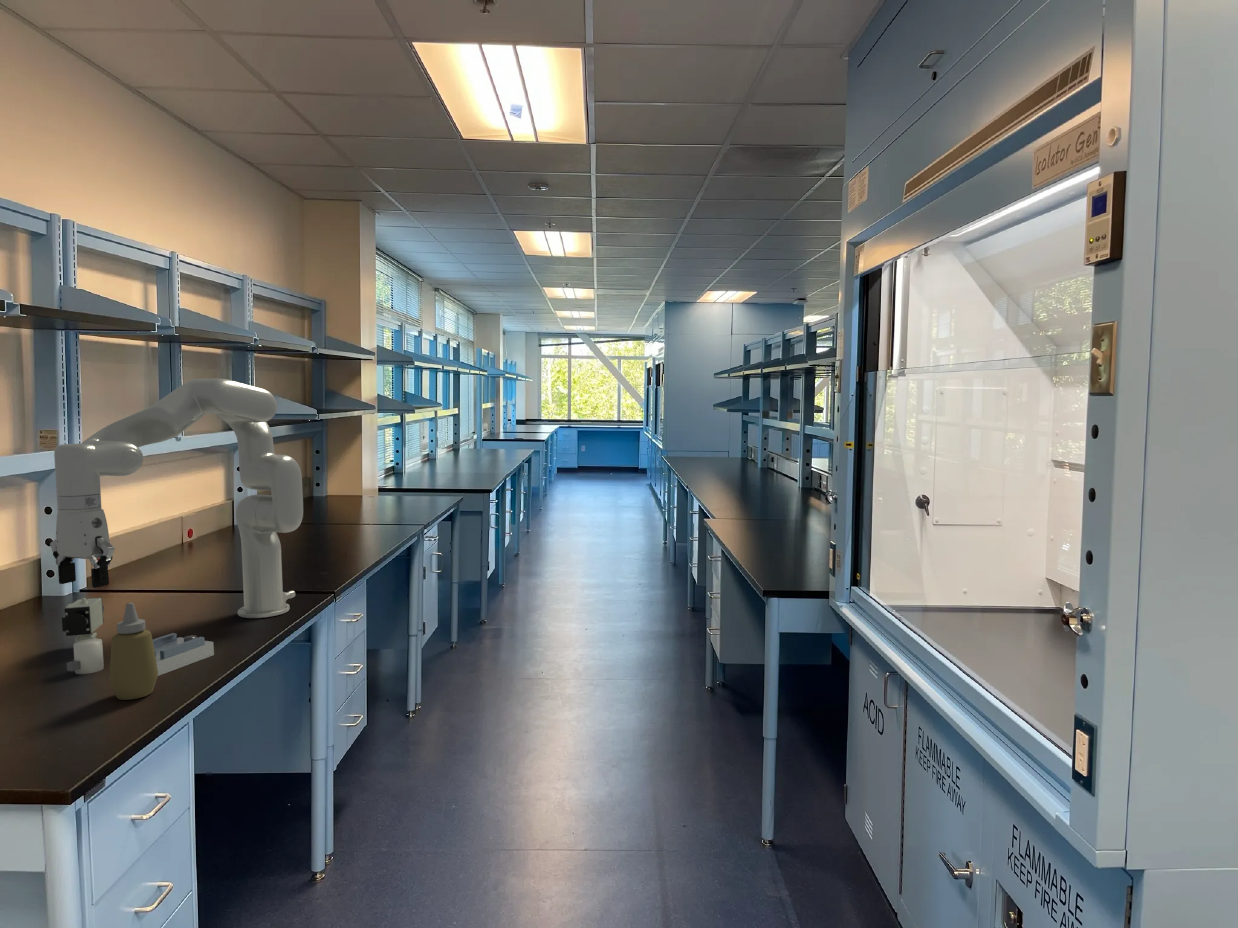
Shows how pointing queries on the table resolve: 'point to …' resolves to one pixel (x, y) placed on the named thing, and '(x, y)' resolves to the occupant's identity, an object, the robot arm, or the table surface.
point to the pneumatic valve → (83, 618)
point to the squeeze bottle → (132, 658)
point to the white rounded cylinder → (87, 657)
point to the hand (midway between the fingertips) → (83, 584)
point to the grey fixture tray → (180, 651)
